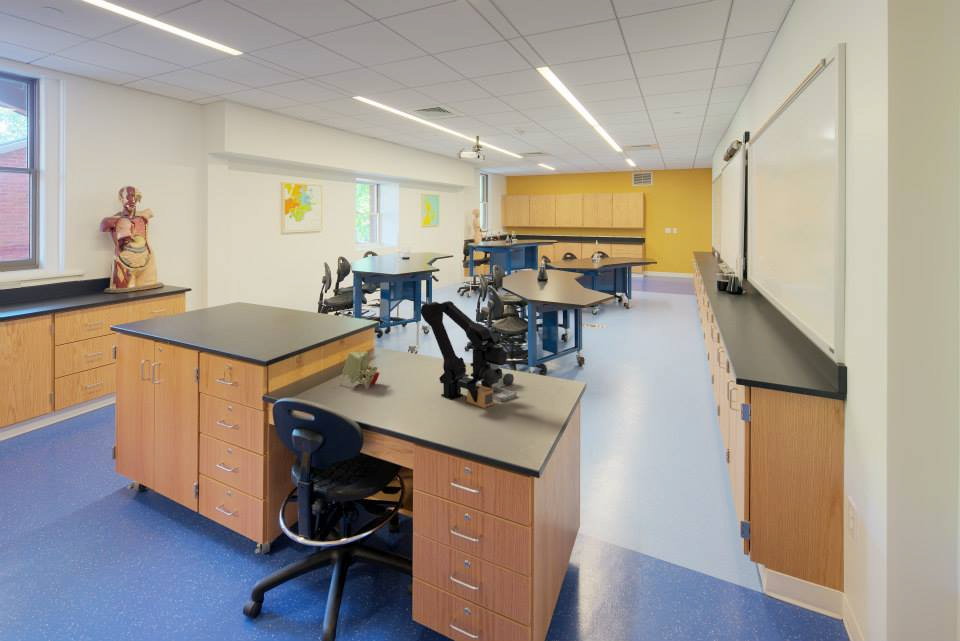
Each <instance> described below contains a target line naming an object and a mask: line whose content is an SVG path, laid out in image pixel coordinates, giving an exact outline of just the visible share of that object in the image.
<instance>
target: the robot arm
mask: <svg viewBox="0 0 960 641" xmlns="http://www.w3.org/2000/svg"><path fill="white" fill-rule="evenodd" d="M419 311H420V315H421V317H422V318H423V320H424V321H425V323H427V324H428V325H429V326H430V327H431V330H432V332H433V336H434V338H435V340H436V343H437V345H438V348H439V351H440V353H441V355H442V358H443V364H442V365H443V366H442V368H443V373H442V374H441V375H440V377H439V378H438V379H439V383H440V384H442V385H443V387H442V388H443V393H442V394H440V396H441V397H443V398H445V399H448V400H454V399H458V398H461V397H463V396H464V394H463V393H461V391H462V389H465V390H467V389H468V390H469V392H470V394H471V396H472V398H473V400H474V402H477V395H478V389H479V388H480V387H479V386H478V382H480V381H481V384H482V386H484V387H487V388H490V387H491V385H493V384H495V383H498V381H499V379H501V378H502V372H503V369H501V367H499V368H498V369H496V370H495V369H491V365H490V364H489V363H491V364H496V365H499V366H504V365H505V363H506V362H507V360H508V359H507V358H508V354H507V351H506V350H505V349H504V348H505V347H504V346H498V345H497V343H496V342H495V339H494V338H493V336H492V334H491V332H490V329H488V328H487V327H486V326H484V325H483V324H480V323H477V322H475V321H473V320H472V319H471V318H470V317H469V316H468V315H466V314H465V313H464V312H463V311H462V310H461V309H459V307H457V306H456V305H455V304H454V302H452V301H451V300H448V301H447V300H446V301H443V302H437V301H432V302H427V303H424V304H422V305H421V307H420V310H419ZM444 314H445V315H446V316H448V318H450V320H452V321H453V322H454V323H455V324H456V325H458V327H459V328H461V329H462V330H463V332H465V335H466V336H465V337H466V338H467V339H468V340H469V341H470V344H469V345H468V346H467V348H468V349H470V350H472V362H471V363H470V367H472V373H470V375H471V377H473V378H472V379H471V378H468V377H465V378H463V377H464V375H465V374H466V373H467V368H466V367H467V365H466V363H465V362H464V358H463V357H458V356H457V354H456V352H455V349H454V347H453V345H452V342H451V339H450V337H449V334H448V333H447V330H446V327H445V324H444V322H443V320H444ZM477 379H478V380H477Z"/></svg>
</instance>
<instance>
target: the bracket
mask: <svg viewBox="0 0 960 641" xmlns="http://www.w3.org/2000/svg"><path fill="white" fill-rule="evenodd" d="M495 390H496V392H498V391H499V392H498V393H501V392H502V394H504V393H506V394H505V395H504V396H499V395H495V394H493V399H494V400H495V401H496V400H497V402H499V401H500V402H499V403H503V402H505V400H506V401H507V399H508V400H511V399H513V398H515V396H516V397H517V394H518V392H515V391H512V390H509V389H506V388H503V387H497V386H493V391H495ZM507 394H508V395H507ZM512 397H513V398H512ZM510 398H511V399H510ZM494 400H493V401H494ZM502 401H503V402H502Z"/></svg>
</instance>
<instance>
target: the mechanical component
mask: <svg viewBox="0 0 960 641" xmlns="http://www.w3.org/2000/svg"><path fill="white" fill-rule="evenodd" d="M368 355H369V352H368V351H365V350H364V351H363V352H362V351H358V352H356V351H354V350H351V351H350V352H349V353H348V355H347V358H346V361H345V363H344V366H343V369H342V371H341V373H342V378H341V381H340V383H339V385H340V386H341V384H342V381H343V380H344V377H345V375H346V376H347V379H348V380H349V382H350V383H351V384H355V383H356V382H358V383H359V384H362V385H363V384H364V385H363V386H364V388H366V389H369V387H370V385H371V386H375V384H376V382H377V381H378V378H379V376H380V372H378V368H379V366H378V365H377V366H376V365H374V366H373V367H372V366H371V365H370V357H368Z"/></svg>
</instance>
